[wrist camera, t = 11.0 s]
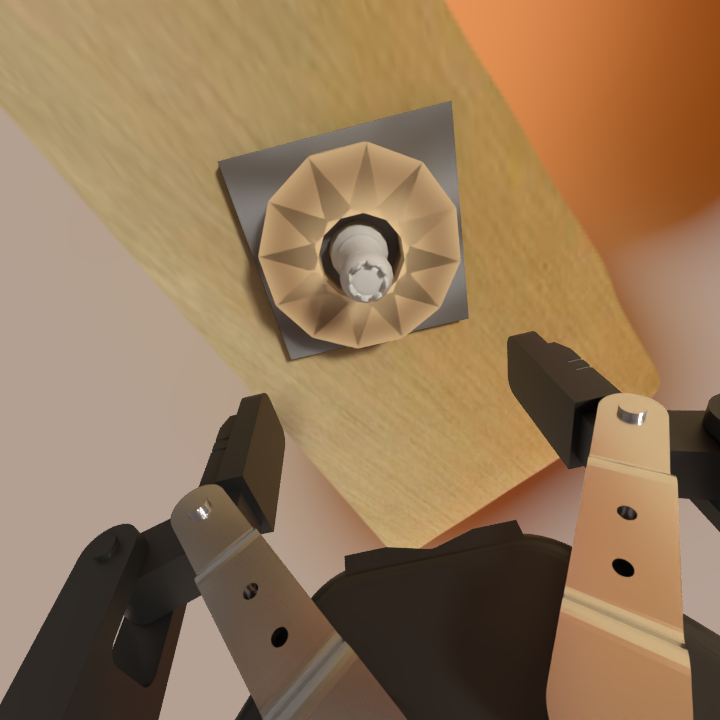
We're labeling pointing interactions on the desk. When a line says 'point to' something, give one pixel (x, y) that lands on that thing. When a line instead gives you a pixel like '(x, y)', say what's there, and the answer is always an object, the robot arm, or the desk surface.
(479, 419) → the desk surface
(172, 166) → the desk surface
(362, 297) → the rook chess piece
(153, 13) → the desk surface
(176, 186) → the desk surface
